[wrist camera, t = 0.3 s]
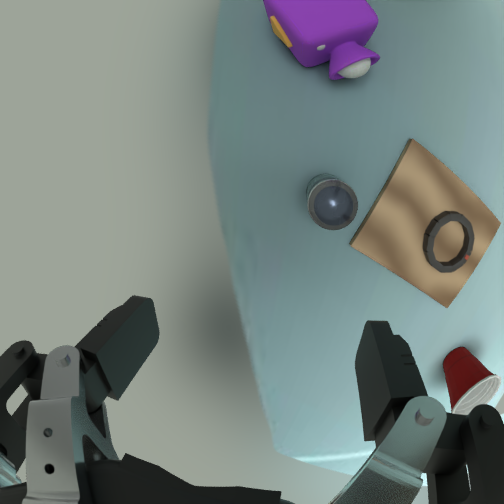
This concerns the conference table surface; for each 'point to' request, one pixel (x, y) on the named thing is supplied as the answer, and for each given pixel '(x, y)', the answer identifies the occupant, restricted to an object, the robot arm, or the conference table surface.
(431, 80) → the conference table surface
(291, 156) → the conference table surface
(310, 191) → the lens
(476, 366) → the plastic cup
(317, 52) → the toy camera
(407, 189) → the mount
